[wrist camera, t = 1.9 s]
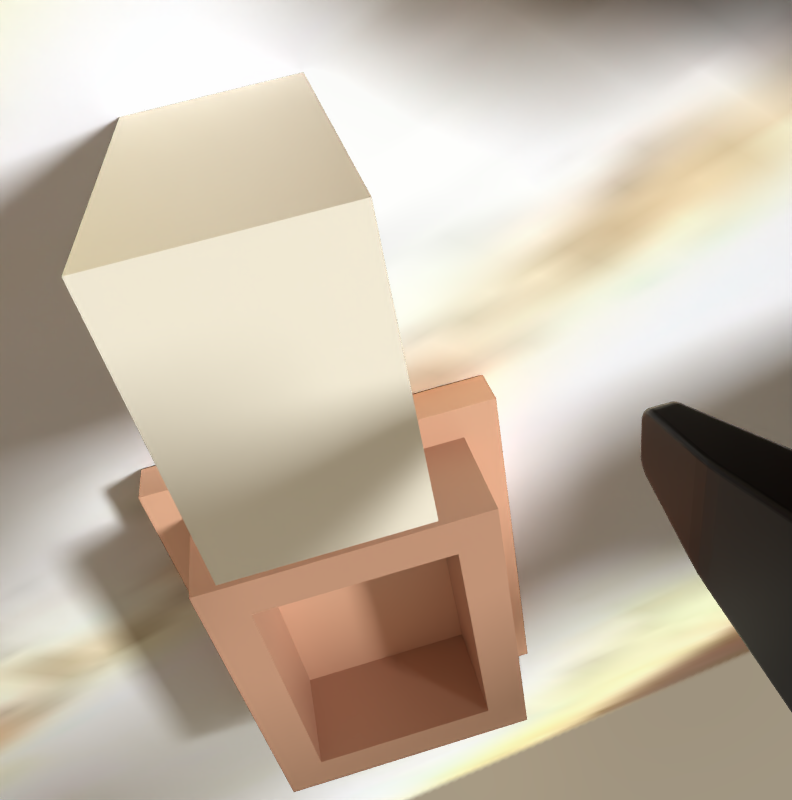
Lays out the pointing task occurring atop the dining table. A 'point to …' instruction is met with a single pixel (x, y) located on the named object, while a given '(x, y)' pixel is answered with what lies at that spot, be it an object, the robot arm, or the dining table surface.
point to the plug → (253, 327)
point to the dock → (378, 614)
